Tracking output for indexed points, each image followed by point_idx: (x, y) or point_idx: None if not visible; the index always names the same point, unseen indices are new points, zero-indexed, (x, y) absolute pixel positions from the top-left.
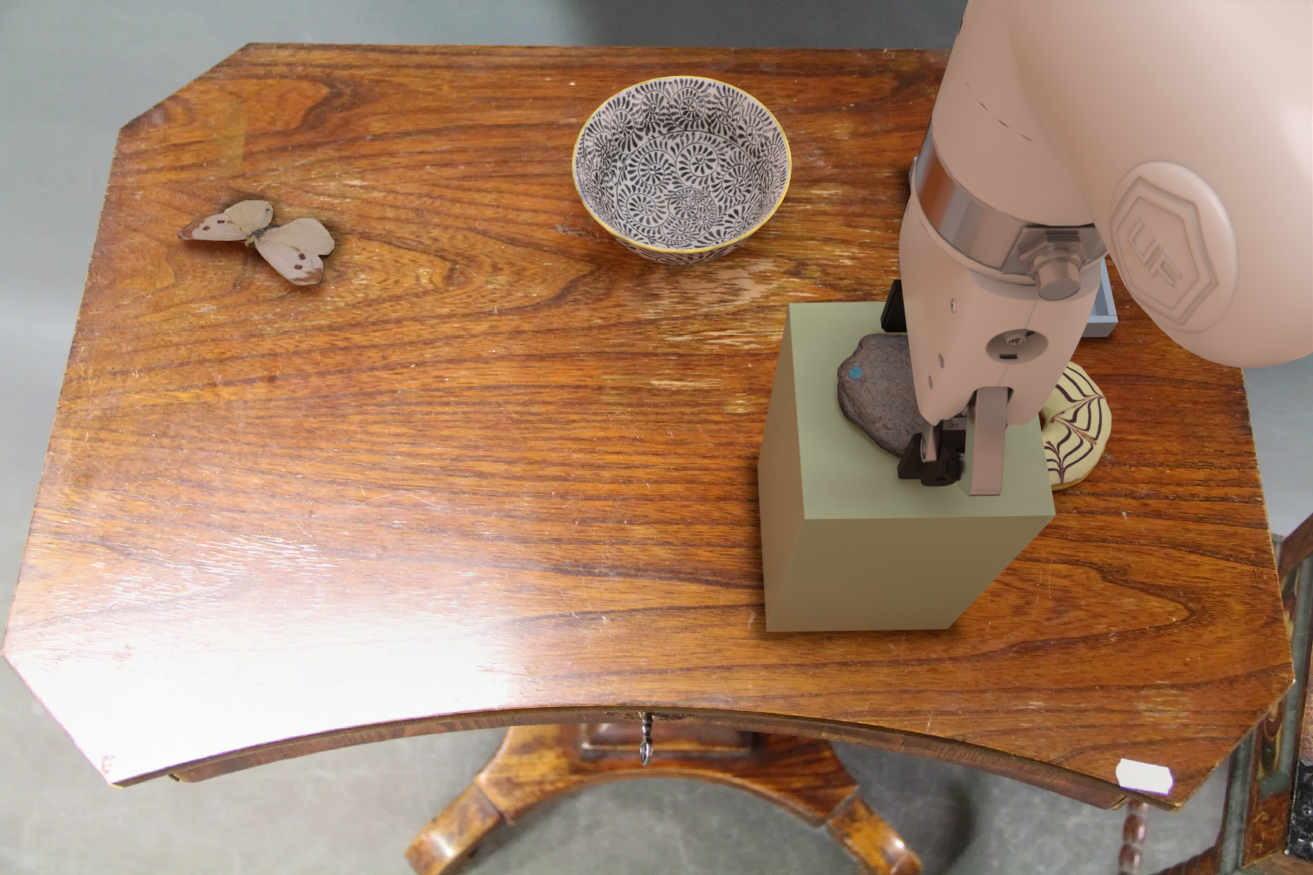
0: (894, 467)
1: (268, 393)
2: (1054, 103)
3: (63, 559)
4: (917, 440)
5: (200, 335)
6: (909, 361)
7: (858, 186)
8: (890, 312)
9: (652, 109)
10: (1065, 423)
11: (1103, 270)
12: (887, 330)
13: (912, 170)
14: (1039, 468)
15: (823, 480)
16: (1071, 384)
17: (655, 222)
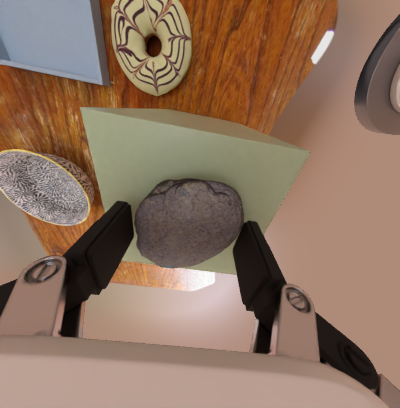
0: None
1: (144, 265)
2: None
3: (177, 287)
4: (252, 309)
5: (131, 273)
6: (163, 247)
7: (31, 99)
8: (120, 260)
9: (23, 193)
10: (158, 21)
11: None
12: (132, 237)
13: (6, 65)
14: (265, 152)
15: (223, 266)
16: (132, 3)
17: (77, 188)
